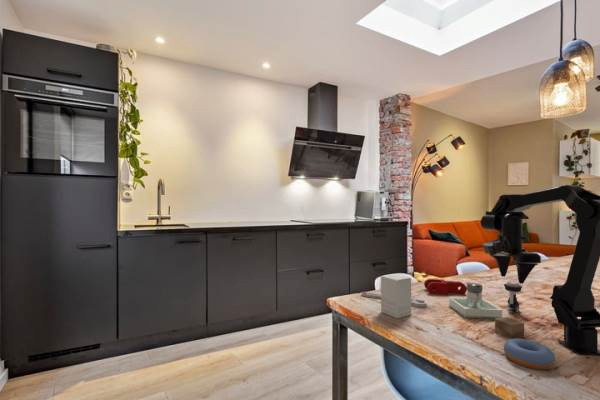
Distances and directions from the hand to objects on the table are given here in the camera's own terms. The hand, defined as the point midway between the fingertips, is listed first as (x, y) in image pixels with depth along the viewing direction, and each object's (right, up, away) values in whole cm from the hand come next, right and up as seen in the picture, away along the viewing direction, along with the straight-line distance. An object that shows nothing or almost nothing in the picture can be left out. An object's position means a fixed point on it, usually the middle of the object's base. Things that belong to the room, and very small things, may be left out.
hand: (511, 279), depth 99 cm
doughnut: (-15, -13, -27) cm, 33 cm away
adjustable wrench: (-33, -14, +19) cm, 41 cm away
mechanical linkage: (-7, -14, +30) cm, 34 cm away
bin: (-9, -13, +6) cm, 17 cm away
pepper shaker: (-9, -12, +6) cm, 16 cm away
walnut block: (-9, -13, -12) cm, 20 cm away
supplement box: (-37, -13, +4) cm, 39 cm away
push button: (+5, -13, +7) cm, 16 cm away
